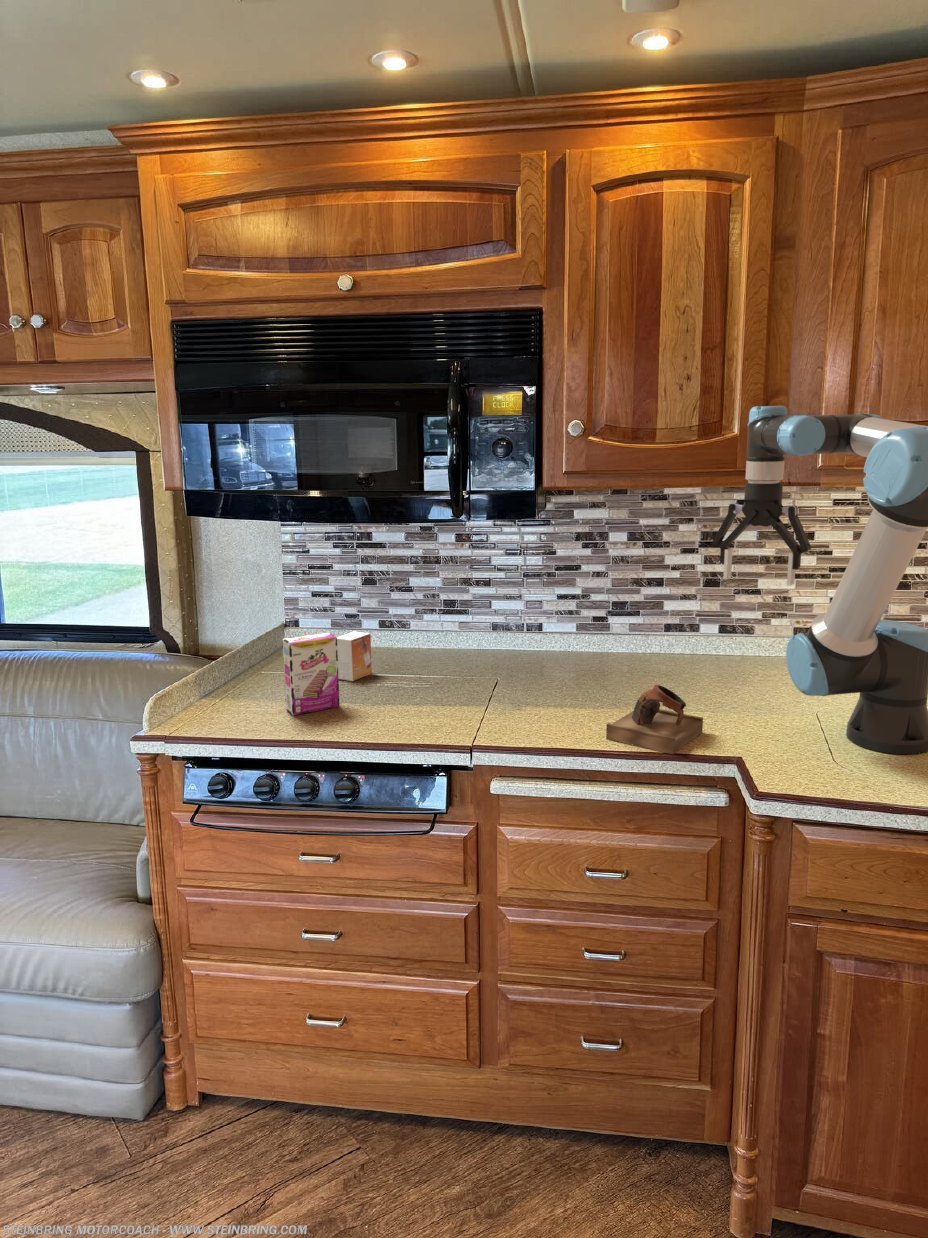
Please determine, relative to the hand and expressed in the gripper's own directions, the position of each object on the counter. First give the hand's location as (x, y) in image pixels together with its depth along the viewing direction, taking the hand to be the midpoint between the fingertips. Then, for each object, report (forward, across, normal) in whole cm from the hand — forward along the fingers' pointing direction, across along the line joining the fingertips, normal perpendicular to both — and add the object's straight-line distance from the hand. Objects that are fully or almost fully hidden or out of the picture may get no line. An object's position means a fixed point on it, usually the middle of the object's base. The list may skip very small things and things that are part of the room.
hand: (758, 581), depth 188 cm
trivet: (+27, +8, +32) cm, 43 cm away
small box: (+27, +87, +35) cm, 98 cm away
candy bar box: (+27, +78, +58) cm, 101 cm away
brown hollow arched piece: (+24, +9, +32) cm, 41 cm away
